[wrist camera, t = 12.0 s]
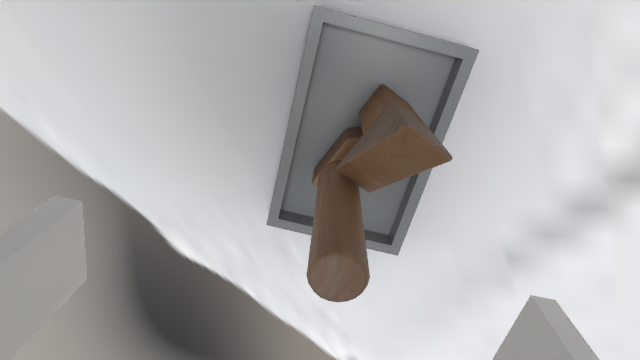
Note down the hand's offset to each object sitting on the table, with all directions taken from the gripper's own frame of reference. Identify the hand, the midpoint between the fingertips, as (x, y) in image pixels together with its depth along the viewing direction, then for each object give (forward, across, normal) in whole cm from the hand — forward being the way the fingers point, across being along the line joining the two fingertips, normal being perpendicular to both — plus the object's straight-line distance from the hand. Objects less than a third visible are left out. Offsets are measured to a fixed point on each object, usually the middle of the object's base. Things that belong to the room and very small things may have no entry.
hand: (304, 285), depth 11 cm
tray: (+27, +4, -4) cm, 28 cm away
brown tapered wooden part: (+26, +4, -3) cm, 27 cm away
